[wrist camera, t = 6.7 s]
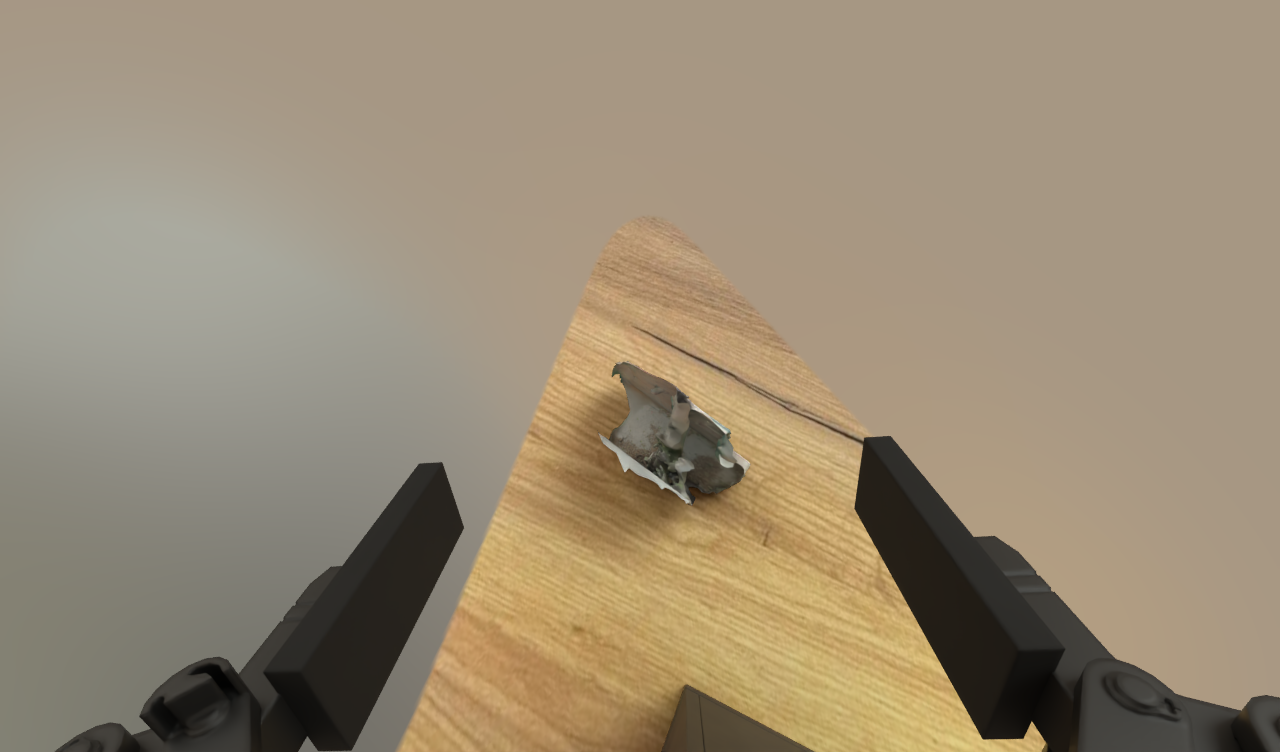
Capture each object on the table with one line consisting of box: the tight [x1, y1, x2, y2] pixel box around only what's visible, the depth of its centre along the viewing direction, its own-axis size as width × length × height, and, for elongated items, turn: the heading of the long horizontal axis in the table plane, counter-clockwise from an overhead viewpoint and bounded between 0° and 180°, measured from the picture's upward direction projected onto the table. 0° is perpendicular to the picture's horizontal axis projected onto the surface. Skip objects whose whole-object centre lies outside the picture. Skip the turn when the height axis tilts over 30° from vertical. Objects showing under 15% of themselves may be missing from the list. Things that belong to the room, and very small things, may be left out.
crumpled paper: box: [597, 361, 750, 505], centre depth 20 cm, size 4×8×7 cm, turn 53°
